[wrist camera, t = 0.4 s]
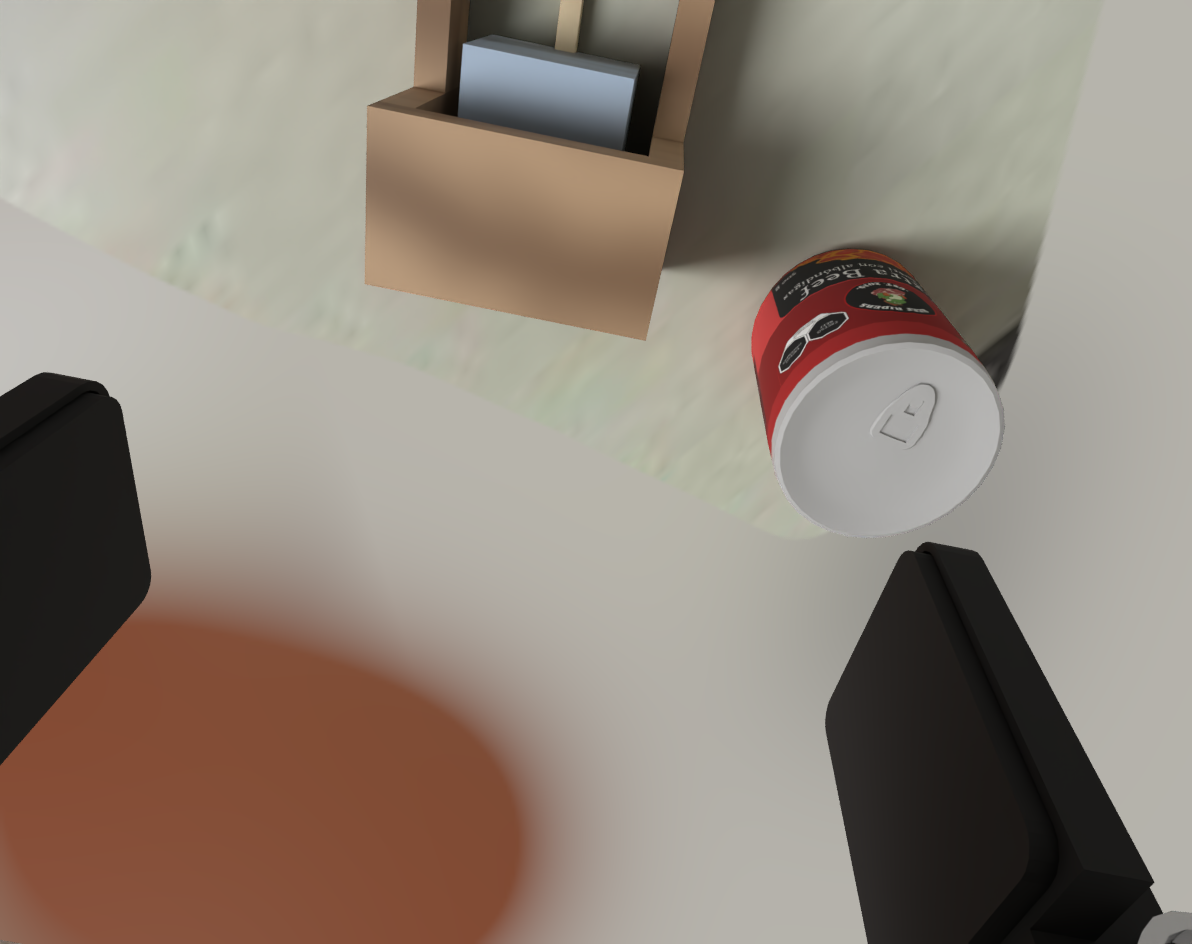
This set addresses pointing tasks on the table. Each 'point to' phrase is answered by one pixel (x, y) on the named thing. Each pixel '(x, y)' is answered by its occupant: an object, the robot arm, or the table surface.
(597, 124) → the knob-handled block
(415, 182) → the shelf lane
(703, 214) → the table surface
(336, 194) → the table surface
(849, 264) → the canned food
